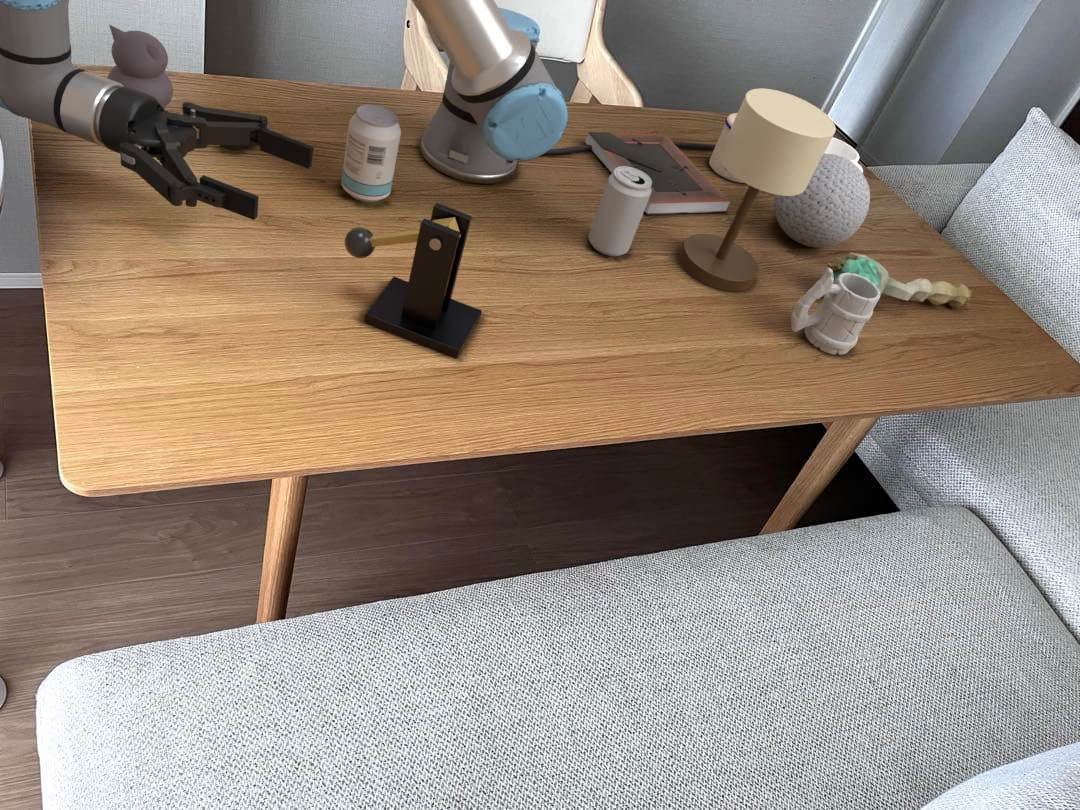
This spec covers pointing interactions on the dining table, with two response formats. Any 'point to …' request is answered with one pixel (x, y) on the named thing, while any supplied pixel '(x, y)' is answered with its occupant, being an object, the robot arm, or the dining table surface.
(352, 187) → the beverage can
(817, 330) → the mug
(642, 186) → the beverage can
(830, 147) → the mug
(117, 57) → the cat figurine
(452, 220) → the lamp switch
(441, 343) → the switch bracket
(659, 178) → the picture frame
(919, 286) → the scepter
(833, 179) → the decorative ball
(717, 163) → the teacup with lid
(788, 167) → the lamp
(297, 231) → the dining table surface
